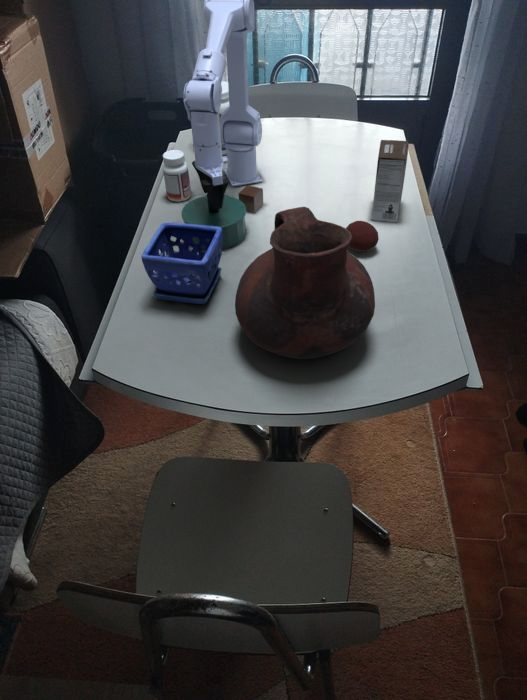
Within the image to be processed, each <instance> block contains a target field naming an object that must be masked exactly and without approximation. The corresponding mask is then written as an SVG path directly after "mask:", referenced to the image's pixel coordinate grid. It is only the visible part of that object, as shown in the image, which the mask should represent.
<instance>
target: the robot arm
mask: <svg viewBox="0 0 527 700" xmlns="http://www.w3.org/2000/svg"><path fill="white" fill-rule="evenodd" d="M203 16H204V20H205V23H206V27H207V28H208V32H207V36H206V37H207V38H206V44H205V48H203V49H202V50H200V51H199V52H198V55H197V59H196V62H195V67H194V69H193V74H192V77H191V79H190V80H189V82H186V83H185V84H184V88H183V106H184V108H185V112H186V113H187V120H188V121H190V126H191V135H192V143H193V151H194V152H193V153H194V160H193V161H191V164H192V167H193V168H194V170H195V172H196V173H197V176H198V178H199V183H200V185H201V189H202V191H203V193H204V194H208V196H209V200H210V204H211V207H212V209H213V210H216V209H221V208H222V205H223V199H224V195H226V190H227V189H228V187H229V185H231V187H239V186H240V187H241V186H247V185H250V184H257V183H261V182H262V181H263V180H262V178H261V176H260V175H259V173H258V166H257V163H258V162H257V147H259V145H260V144H261V142H262V137H263V125H262V119H261V115H260V112H259V111H258V110H256V109H255V108H254V107H252V106H251V105H250V100H249V75H248V73H249V72H248V47H247V46H248V42H247V39H248V34H250V33H253V32H254V31H255V27H256V26H255V25H256V24H255V23H256V22H255V21H256V19H255V18H256V17H255V1H254V0H204V1H203ZM225 51H226V58H225V55H224V53H225ZM226 69H227V82H228V89H229V107H228V108H227V109H226V110H224V111H223V113H222V115H221V117H220V125H219V110H220V106H221V94H222V86H221V82H222V81H223V77H224V74H225V70H226ZM221 142H222V143H223V144H225V146H226V152H227V154H226V155H222V149H221ZM225 164H227V168H224V165H225ZM223 168H224V170H223ZM223 171H224V173H225V175H226V177H223Z"/></svg>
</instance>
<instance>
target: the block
mask: <svg viewBox="0 0 527 700" xmlns="http://www.w3.org/2000/svg"><path fill="white" fill-rule="evenodd" d="M237 195H238V199H239V200H240V201H242V202H243V203H244V205H245V207H246V212H249V213H253V214H255V213H257V212H258V210H260V209H261V208H262V207H263V206H264V188H262V187H257V186H253V185H250V184H246V185H245V186H244V187H243V188H242V189H241V190H240V191H238V192H237Z"/></svg>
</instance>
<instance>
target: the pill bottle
mask: <svg viewBox="0 0 527 700" xmlns="http://www.w3.org/2000/svg"><path fill="white" fill-rule="evenodd" d="M162 160H163V165H162V173H163V179H164V185H165V192H166V197H167V199H168V200H170V201H171V202H174V203H175V202H185V201H187V200H188V199H190V198H191V196H192V189H191V180H190V173H189V166H188V163H187V162H186V161H185V160H186V158H185V152H183V151H182V150H180V149H170V150H167V151H165V152H164V153H162Z"/></svg>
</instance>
